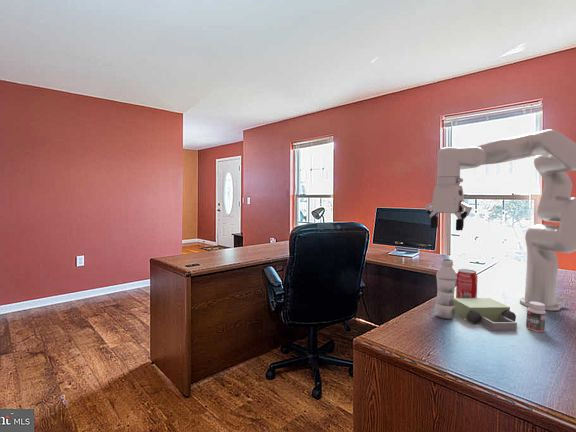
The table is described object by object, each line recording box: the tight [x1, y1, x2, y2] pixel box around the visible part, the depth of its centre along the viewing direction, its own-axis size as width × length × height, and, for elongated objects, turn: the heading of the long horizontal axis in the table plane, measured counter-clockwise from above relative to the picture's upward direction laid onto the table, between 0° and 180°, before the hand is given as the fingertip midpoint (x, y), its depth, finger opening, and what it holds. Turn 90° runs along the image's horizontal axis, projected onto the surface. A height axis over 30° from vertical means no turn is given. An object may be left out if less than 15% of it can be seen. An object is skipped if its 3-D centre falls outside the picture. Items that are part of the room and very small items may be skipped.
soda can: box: [455, 268, 478, 298], centre depth 128 cm, size 7×7×13 cm
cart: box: [454, 297, 518, 332], centre depth 111 cm, size 16×19×5 cm
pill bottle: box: [525, 302, 547, 333], centre depth 103 cm, size 5×5×8 cm
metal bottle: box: [434, 258, 457, 320], centre depth 112 cm, size 6×7×20 cm
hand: (446, 229), depth 119 cm, fingers open, 9 cm apart
